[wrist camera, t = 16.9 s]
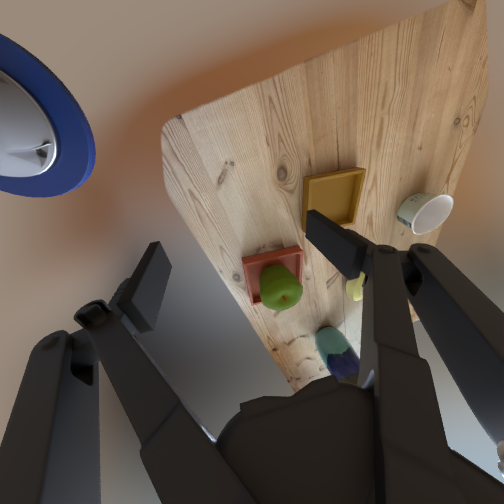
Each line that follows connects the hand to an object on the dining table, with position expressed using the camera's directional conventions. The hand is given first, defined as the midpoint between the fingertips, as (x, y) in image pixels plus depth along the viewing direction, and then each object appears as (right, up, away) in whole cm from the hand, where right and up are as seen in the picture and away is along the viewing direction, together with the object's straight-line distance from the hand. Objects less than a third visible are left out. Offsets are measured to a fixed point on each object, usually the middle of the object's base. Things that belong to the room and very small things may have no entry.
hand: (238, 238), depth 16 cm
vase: (+36, -39, +69) cm, 87 cm away
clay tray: (+8, -8, +42) cm, 43 cm away
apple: (+8, -9, +41) cm, 43 cm away
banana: (+42, -10, +52) cm, 67 cm away
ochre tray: (+22, +13, +32) cm, 41 cm away
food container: (+51, +12, +39) cm, 66 cm away
